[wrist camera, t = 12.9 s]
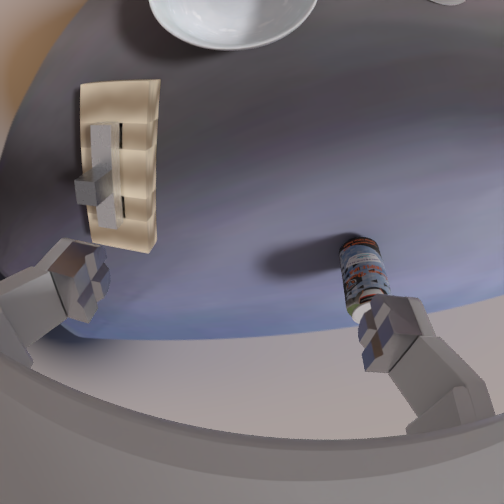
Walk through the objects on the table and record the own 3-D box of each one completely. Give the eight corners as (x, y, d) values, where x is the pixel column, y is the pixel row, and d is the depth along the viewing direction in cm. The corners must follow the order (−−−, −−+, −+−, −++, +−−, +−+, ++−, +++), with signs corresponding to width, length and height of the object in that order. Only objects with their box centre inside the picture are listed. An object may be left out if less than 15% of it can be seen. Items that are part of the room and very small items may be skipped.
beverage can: (379, 231, 39) (405, 286, 29) (372, 271, 43) (391, 328, 33) (337, 231, 40) (354, 288, 30) (333, 272, 44) (345, 332, 34)
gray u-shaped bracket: (114, 115, 32) (70, 133, 24) (134, 116, 32) (91, 133, 24) (117, 206, 40) (84, 242, 32) (135, 209, 40) (102, 246, 32)
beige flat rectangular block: (95, 81, 29) (80, 84, 26) (160, 79, 29) (149, 80, 27) (102, 230, 43) (92, 242, 40) (156, 240, 43) (148, 253, 40)
